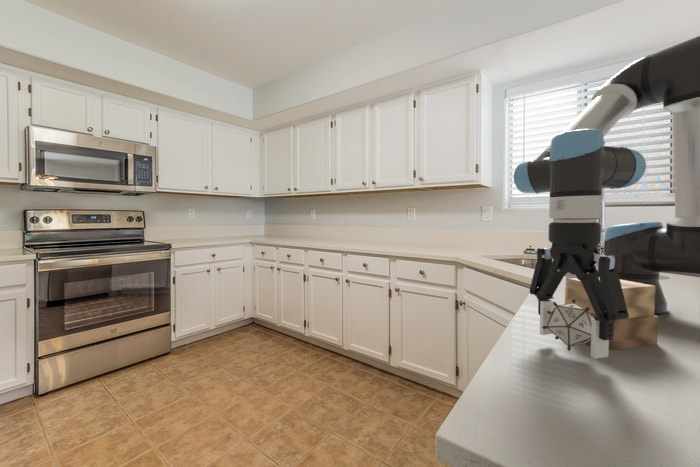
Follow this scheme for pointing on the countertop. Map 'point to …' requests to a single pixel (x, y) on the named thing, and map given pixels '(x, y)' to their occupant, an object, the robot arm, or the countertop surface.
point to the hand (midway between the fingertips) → (570, 344)
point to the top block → (635, 294)
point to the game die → (570, 324)
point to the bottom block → (634, 332)
